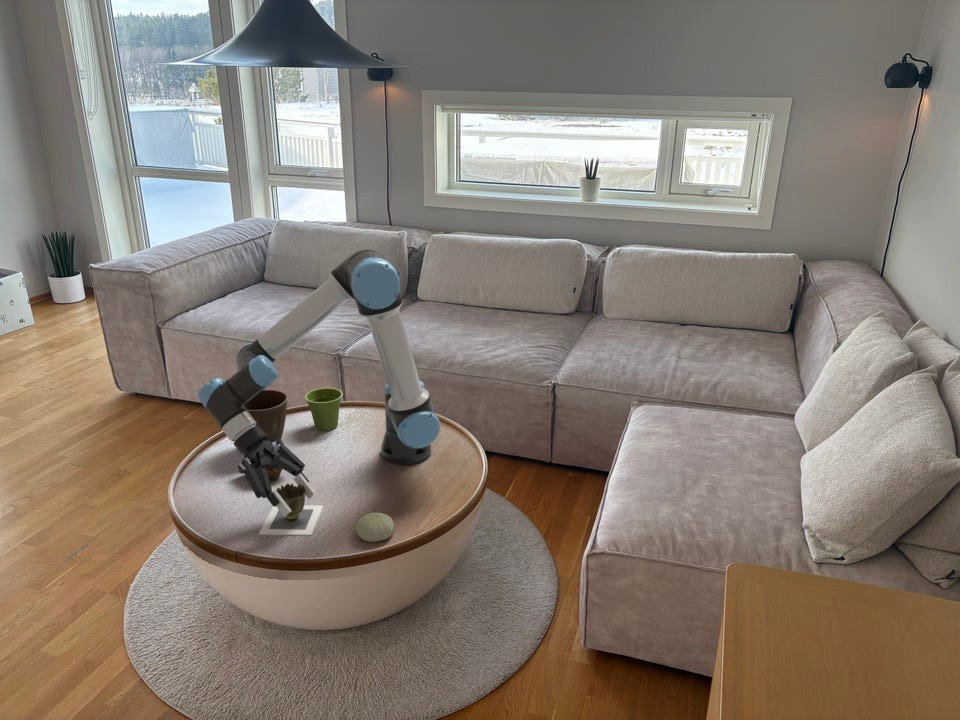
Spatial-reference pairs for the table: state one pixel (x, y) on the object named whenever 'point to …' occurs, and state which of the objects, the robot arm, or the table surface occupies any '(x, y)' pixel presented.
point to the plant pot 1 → (269, 412)
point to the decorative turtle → (269, 470)
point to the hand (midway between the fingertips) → (300, 504)
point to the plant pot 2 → (324, 407)
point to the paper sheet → (291, 522)
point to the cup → (293, 499)
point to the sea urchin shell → (374, 527)
